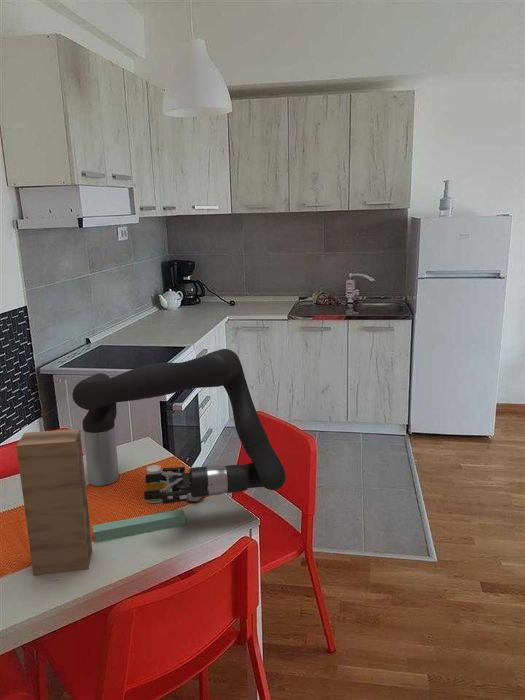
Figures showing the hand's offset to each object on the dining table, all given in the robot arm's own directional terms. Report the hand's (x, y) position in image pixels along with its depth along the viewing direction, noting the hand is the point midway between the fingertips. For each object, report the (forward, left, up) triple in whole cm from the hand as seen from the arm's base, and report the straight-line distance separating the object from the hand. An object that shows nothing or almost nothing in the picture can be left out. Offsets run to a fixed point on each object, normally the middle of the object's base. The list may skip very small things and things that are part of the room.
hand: (144, 486), depth 134 cm
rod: (0, -2, -13) cm, 13 cm away
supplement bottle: (-15, +2, -12) cm, 20 cm away
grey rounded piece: (-13, +13, -12) cm, 22 cm away
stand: (+10, -19, -12) cm, 25 cm away
